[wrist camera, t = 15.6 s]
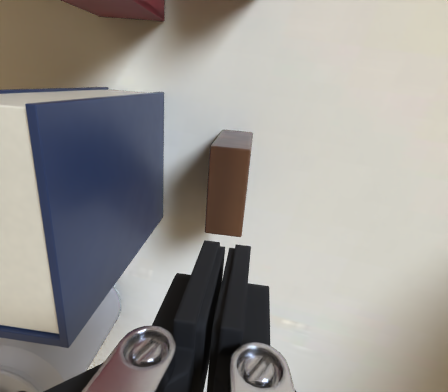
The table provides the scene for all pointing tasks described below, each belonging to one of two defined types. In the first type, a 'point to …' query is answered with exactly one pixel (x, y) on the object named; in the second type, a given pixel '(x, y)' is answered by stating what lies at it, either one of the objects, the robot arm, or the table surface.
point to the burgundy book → (123, 8)
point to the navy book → (73, 202)
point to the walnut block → (228, 182)
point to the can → (55, 353)
